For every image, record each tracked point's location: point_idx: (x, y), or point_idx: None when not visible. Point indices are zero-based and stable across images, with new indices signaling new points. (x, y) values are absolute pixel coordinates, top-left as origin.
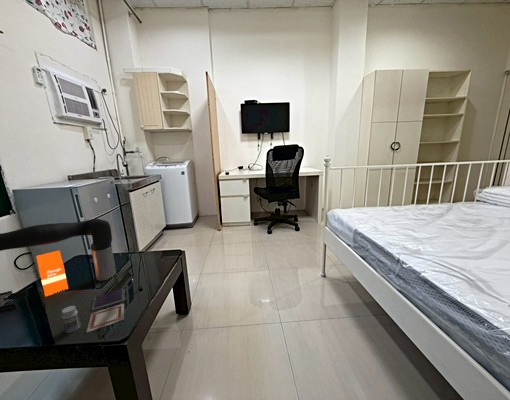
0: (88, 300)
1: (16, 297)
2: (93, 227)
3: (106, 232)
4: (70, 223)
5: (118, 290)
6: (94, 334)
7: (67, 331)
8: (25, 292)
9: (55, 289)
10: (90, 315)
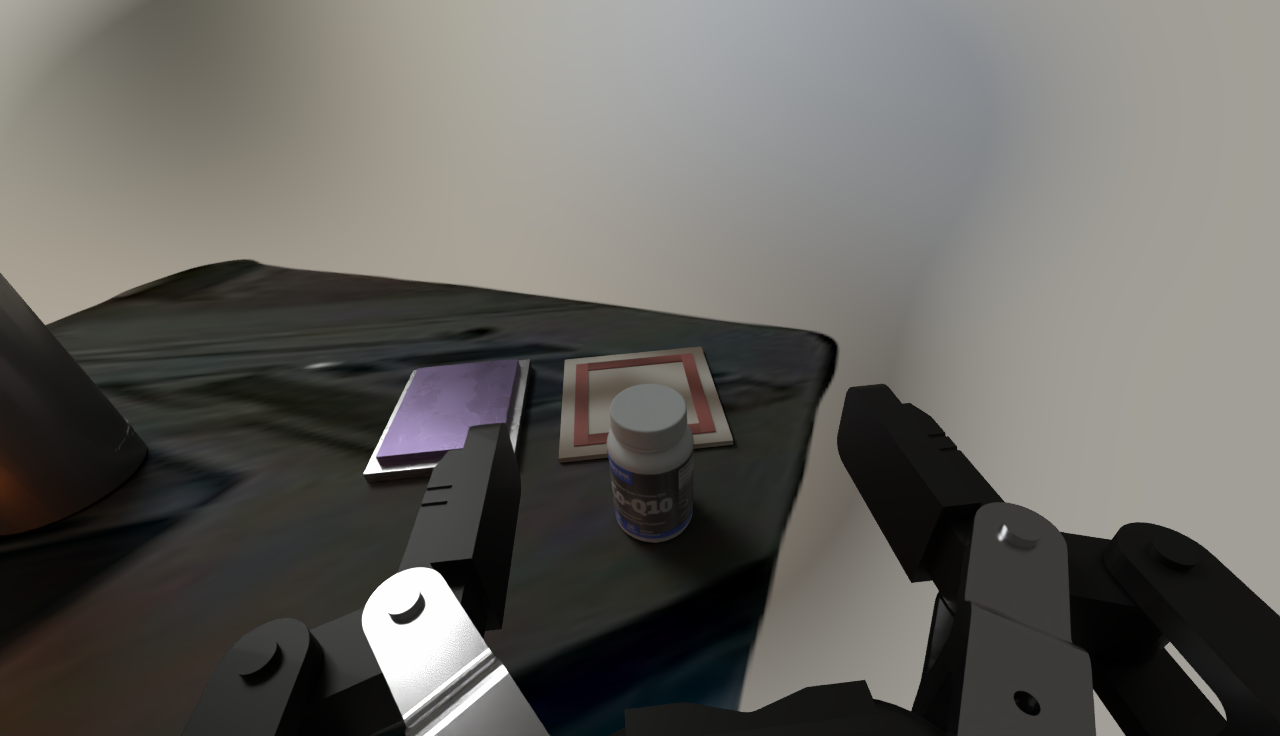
0: (352, 513)
1: (502, 560)
2: None
3: None
4: None
5: (421, 378)
6: (757, 416)
7: (691, 515)
8: (504, 438)
9: None
10: (578, 456)
